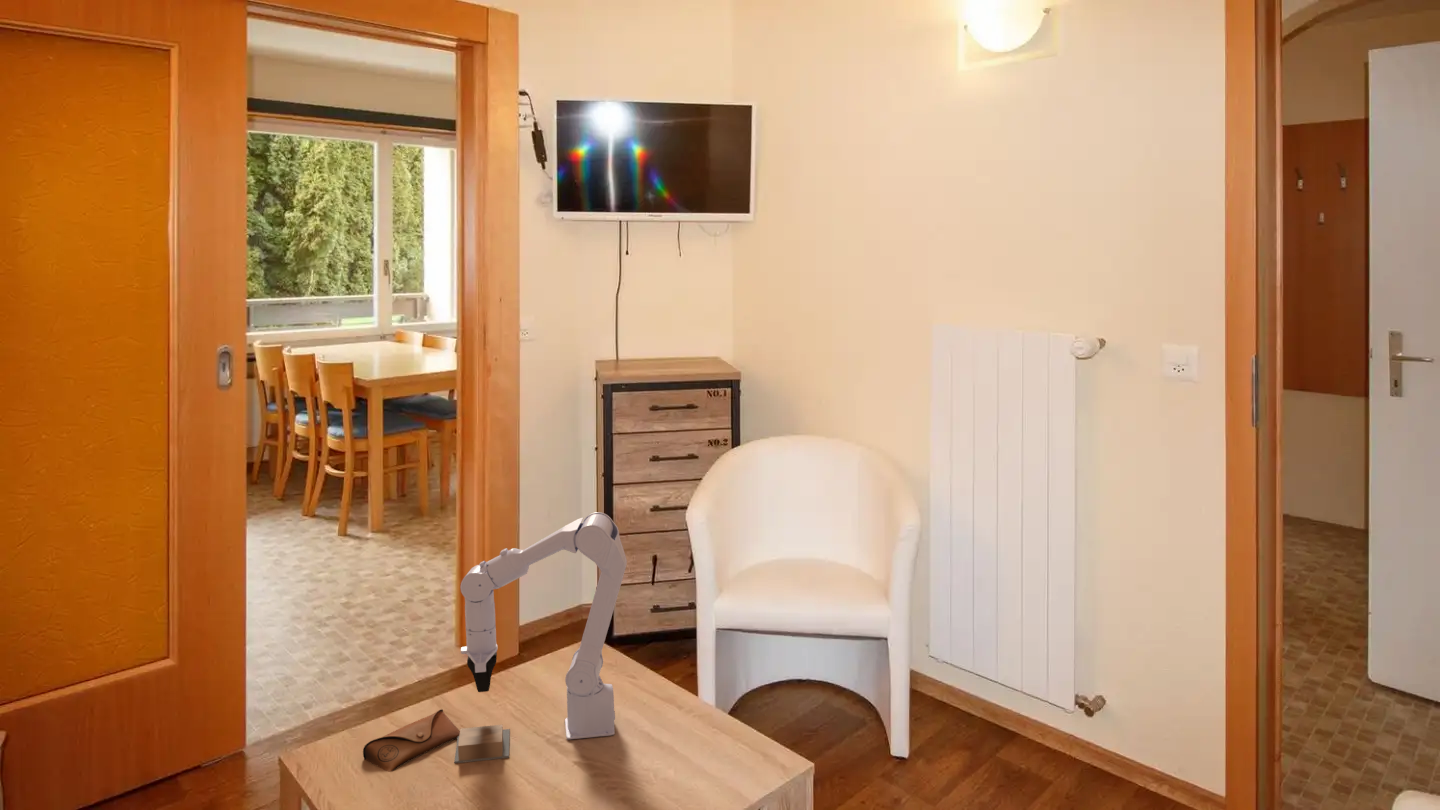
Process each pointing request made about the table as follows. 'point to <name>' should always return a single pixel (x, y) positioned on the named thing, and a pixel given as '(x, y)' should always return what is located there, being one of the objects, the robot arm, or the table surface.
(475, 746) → the brown rectangular block
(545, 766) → the table surface
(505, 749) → the felt mat
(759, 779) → the table surface
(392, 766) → the sunglasses case
